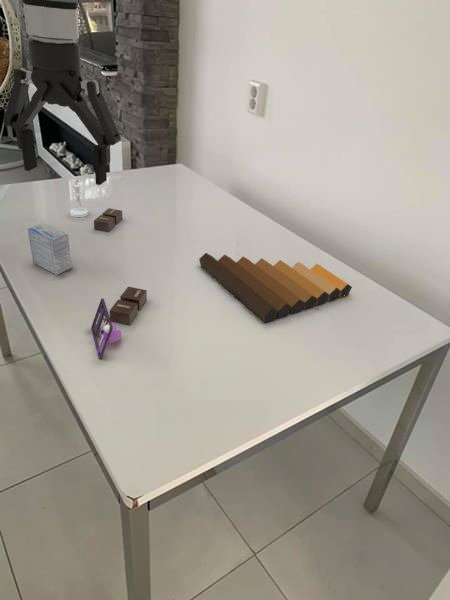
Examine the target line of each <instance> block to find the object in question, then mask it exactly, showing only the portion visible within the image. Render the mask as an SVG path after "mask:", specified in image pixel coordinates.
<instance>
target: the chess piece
mask: <svg viewBox="0 0 450 600" xmlns="http://www.w3.org/2000/svg"><path fill="white" fill-rule="evenodd" d="M72 182H73V183H74V184H72V188H73V190H74V192H73V193H72V194H73V196H75V205H74V208H71V209H70V210H69V215H70V216H71V217H74V218H84V217H87V216H88V215H89V210H88V209H87V208H85V207H83V206H82V202H81V197H80V196H82V195H83V194H82V192H80V191H81V186H82V185H81V184H79V183H80V179H79V178H78V177H75V178H74V180H73V181H72Z"/></svg>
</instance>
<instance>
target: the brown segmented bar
mask: <svg viewBox="0 0 450 600" xmlns="http://www.w3.org/2000/svg"><path fill="white" fill-rule="evenodd" d="M147 291H148V290H147V289H144V288H143V289H142V288H137V287H133V286H127V287H126V288H125V290H124V291H123V292H122V293H121V295H119V298H120V299H117V300H116V301H115V303H114V304H113V305H112V307H111V308H110V309H109V317H110V320H111V323H117V324H122V325H126V326H131V324H132V322H133V321H134V320H135V319H136V317H137V315H138V314H139V313H138V312H139V311H141V310H142V308H143V306H144V305H145V304H146V302H147V301H148V299H147V298H148V297H147V296H148V295H147V293H148V292H147Z"/></svg>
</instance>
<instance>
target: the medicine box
mask: <svg viewBox="0 0 450 600" xmlns="http://www.w3.org/2000/svg"><path fill="white" fill-rule="evenodd" d="M27 234H28V240H29V247H30V253H31V256H32V263H33V264H35V265H36V266H38V267H40V268H42V269H44V270H46V271H48V272H50V273H52V274H54V275H56V276H58V275H60V274H62V273H64V272H66V271H68V270H71V269H72V268H73V264H72V256H71V248H70V240H69V234H68V233H67V232H65V231H63V230H61V229H60V228H56V227H54V226H52V225H50V224H48V223H45V222H43V223H42V222H41V223H39V224H36V225H33V226H31V227H29V228H27Z"/></svg>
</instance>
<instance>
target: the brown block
mask: <svg viewBox="0 0 450 600" xmlns="http://www.w3.org/2000/svg"><path fill="white" fill-rule="evenodd" d="M122 220H123V210H121V209H115V208H107V209H106V210H104V211H103V212H102V213H101V214H99V216H97V217H96V218H95V219H94V220H93V229H94V230H95V231H100V232H105V233H110V232H111V231H112V230H113V229H114V228H115V227H116V225H118V224H119V223H120V222H121V221H122Z"/></svg>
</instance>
